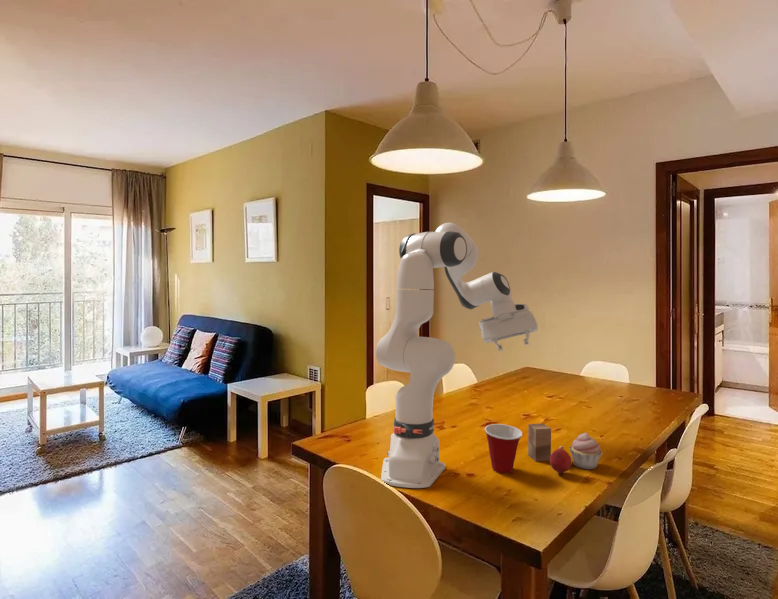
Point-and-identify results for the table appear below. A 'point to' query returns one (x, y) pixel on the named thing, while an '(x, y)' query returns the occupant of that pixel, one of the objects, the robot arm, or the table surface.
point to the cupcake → (585, 452)
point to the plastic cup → (502, 446)
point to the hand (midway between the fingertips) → (513, 347)
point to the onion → (560, 460)
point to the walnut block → (539, 442)
